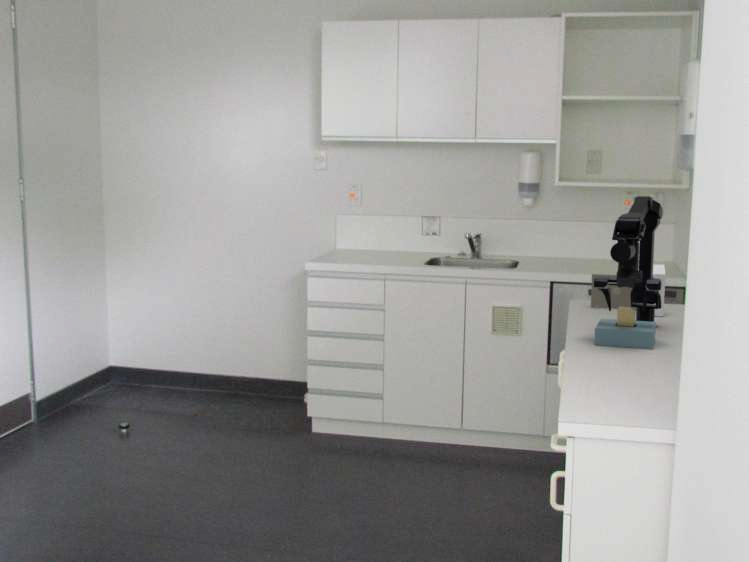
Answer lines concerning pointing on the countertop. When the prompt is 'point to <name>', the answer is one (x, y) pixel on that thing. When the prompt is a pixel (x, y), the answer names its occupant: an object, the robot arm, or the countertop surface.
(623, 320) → the brass pin
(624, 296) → the laptop
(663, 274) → the milk carton
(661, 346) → the countertop surface
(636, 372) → the countertop surface
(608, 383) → the countertop surface
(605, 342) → the hole block
